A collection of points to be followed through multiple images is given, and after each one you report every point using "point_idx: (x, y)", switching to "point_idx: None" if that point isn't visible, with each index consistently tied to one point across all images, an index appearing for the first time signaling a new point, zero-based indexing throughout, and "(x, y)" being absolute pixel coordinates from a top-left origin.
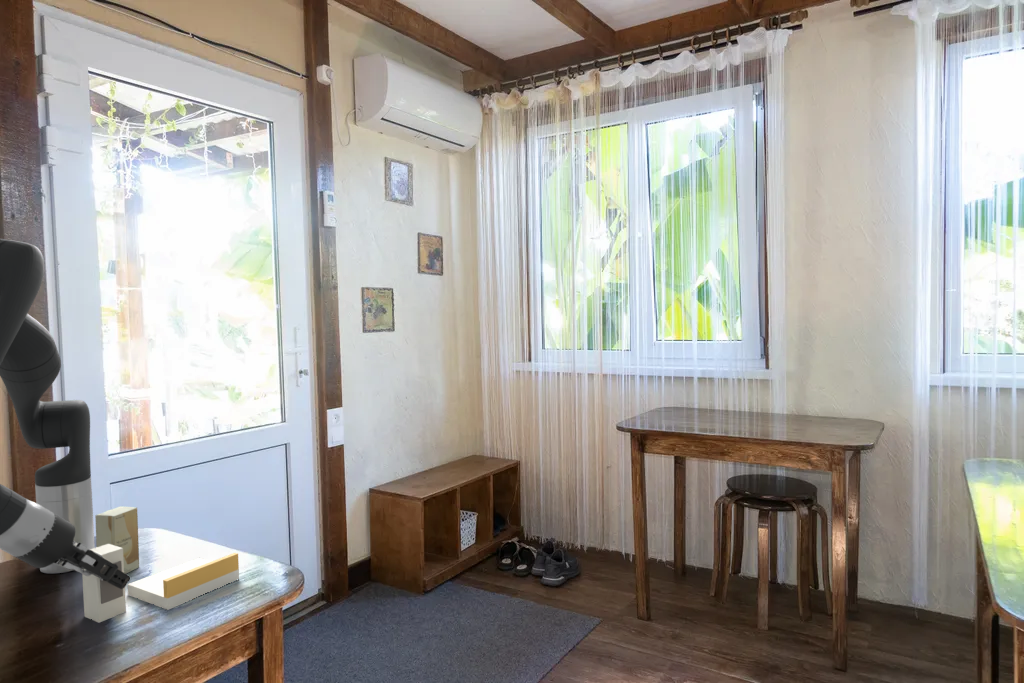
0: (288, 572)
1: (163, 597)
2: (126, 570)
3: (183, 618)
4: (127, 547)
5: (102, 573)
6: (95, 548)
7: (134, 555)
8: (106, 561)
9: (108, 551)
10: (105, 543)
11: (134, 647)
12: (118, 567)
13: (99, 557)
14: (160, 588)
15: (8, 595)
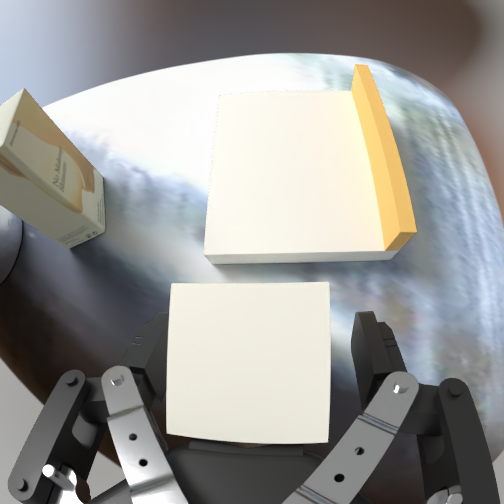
0: (394, 69)
1: (381, 250)
2: (101, 202)
3: (452, 265)
4: (71, 170)
5: (404, 430)
6: (179, 365)
7: (86, 169)
8: (480, 439)
9: (308, 358)
10: (34, 203)
11: (481, 388)
12: (457, 380)
13: (491, 476)
14: (320, 224)
15: (13, 373)
